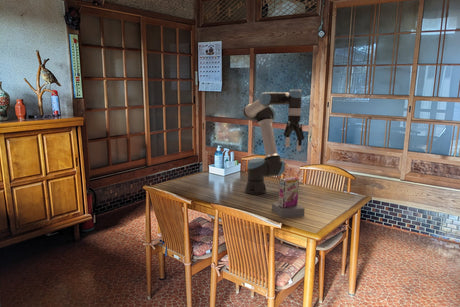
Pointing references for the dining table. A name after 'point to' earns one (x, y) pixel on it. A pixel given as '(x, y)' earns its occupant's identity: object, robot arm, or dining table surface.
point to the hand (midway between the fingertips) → (293, 149)
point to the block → (288, 210)
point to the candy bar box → (288, 192)
